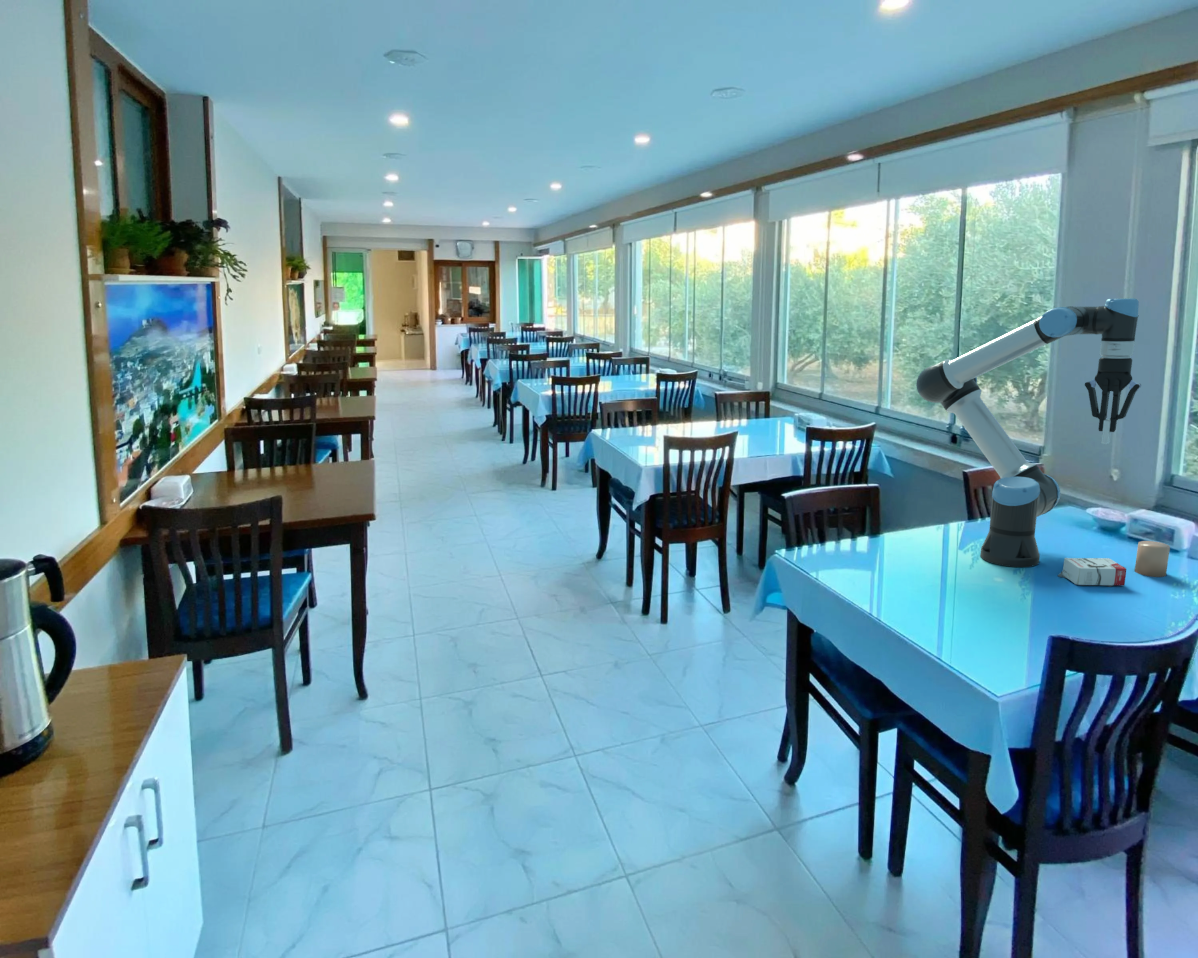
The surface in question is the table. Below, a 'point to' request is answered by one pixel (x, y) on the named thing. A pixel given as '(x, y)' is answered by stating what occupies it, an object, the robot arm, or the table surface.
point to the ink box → (1094, 571)
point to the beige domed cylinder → (1152, 558)
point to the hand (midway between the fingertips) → (1105, 443)
